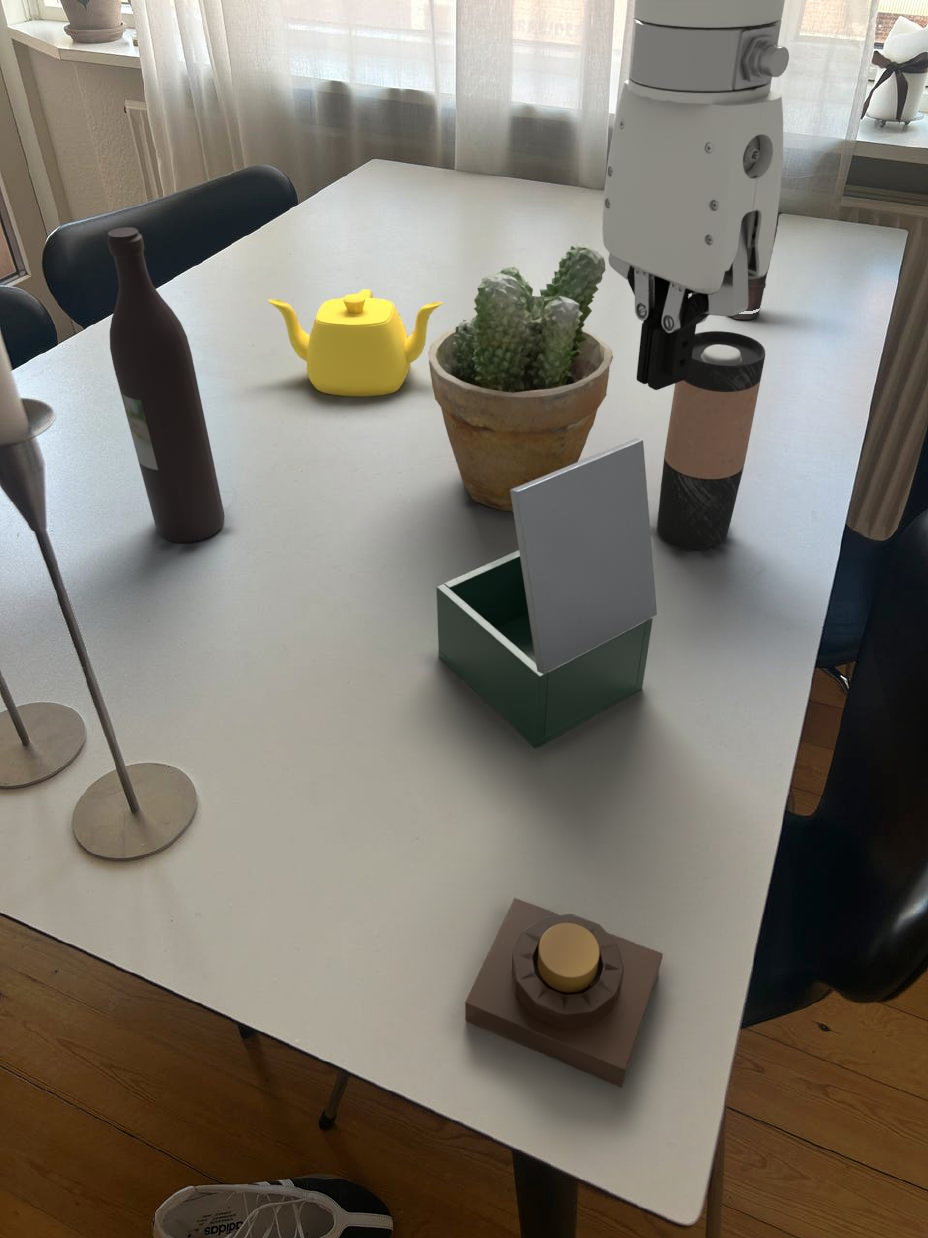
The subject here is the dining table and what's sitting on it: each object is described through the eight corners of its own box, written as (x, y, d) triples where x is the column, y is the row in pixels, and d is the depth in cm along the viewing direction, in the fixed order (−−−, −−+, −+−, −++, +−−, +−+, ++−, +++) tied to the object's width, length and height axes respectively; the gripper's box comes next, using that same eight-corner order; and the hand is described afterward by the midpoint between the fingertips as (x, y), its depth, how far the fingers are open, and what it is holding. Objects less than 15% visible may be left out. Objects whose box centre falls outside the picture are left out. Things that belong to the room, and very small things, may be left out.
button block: (659, 972, 62) (666, 937, 59) (622, 1088, 56) (628, 1055, 54) (513, 916, 65) (515, 881, 62) (465, 1021, 59) (464, 987, 57)
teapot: (449, 349, 133) (447, 270, 127) (440, 401, 122) (437, 318, 115) (292, 346, 135) (282, 268, 128) (268, 397, 123) (255, 315, 116)
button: (605, 951, 59) (607, 935, 58) (586, 1002, 56) (588, 987, 55) (549, 930, 60) (551, 914, 59) (528, 979, 58) (529, 963, 56)
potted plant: (538, 553, 97) (550, 311, 81) (396, 494, 105) (381, 265, 89) (629, 475, 108) (655, 248, 92) (494, 427, 116) (496, 213, 100)
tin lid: (509, 489, 65) (516, 491, 64) (635, 437, 70) (643, 439, 69) (536, 671, 71) (543, 674, 71) (650, 611, 77) (657, 614, 76)
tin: (438, 656, 85) (435, 586, 80) (540, 606, 90) (544, 538, 85) (535, 749, 76) (539, 677, 71) (642, 688, 82) (653, 617, 77)
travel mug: (744, 532, 99) (784, 347, 86) (699, 563, 95) (734, 374, 82) (683, 502, 103) (712, 322, 90) (638, 531, 99) (662, 347, 86)
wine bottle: (175, 503, 104) (105, 216, 85) (236, 510, 103) (179, 221, 84) (144, 540, 99) (63, 243, 80) (208, 548, 98) (141, 248, 78)
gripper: (865, 70, 48) (791, 407, 60) (655, 32, 57) (627, 329, 69) (761, 91, 45) (705, 443, 56) (556, 47, 54) (545, 356, 66)
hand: (662, 379), depth 63 cm, fingers closed
